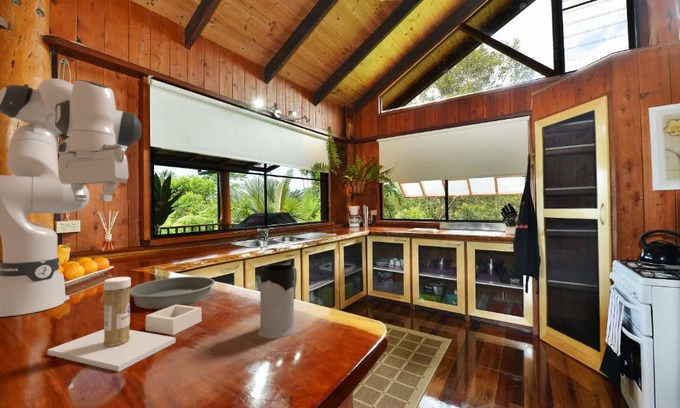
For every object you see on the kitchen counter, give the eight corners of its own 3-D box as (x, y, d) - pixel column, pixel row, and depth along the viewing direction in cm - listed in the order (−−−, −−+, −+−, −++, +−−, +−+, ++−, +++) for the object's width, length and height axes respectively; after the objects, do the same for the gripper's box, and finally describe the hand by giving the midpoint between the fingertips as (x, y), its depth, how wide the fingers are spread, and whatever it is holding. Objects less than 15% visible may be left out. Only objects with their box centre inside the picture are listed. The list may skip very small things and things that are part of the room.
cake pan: (192, 311, 83) (192, 295, 83) (107, 311, 83) (107, 295, 83) (226, 288, 108) (226, 275, 108) (160, 288, 108) (160, 276, 108)
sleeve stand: (145, 330, 69) (145, 315, 69) (176, 317, 78) (176, 304, 78) (173, 334, 67) (173, 319, 67) (201, 321, 75) (201, 307, 75)
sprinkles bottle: (129, 343, 60) (130, 279, 61) (101, 349, 58) (102, 282, 58) (130, 335, 64) (131, 275, 64) (104, 341, 62) (104, 277, 62)
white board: (47, 354, 58) (47, 349, 58) (111, 330, 69) (111, 326, 69) (118, 371, 52) (118, 366, 52) (175, 342, 63) (175, 337, 63)
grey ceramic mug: (250, 335, 66) (250, 270, 67) (281, 314, 80) (281, 259, 80) (284, 340, 64) (284, 272, 64) (310, 317, 77) (310, 261, 77)
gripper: (136, 146, 72) (135, 201, 72) (81, 151, 78) (80, 202, 78) (109, 140, 66) (108, 200, 66) (52, 146, 72) (51, 201, 72)
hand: (92, 201), depth 72 cm, fingers open, 8 cm apart
